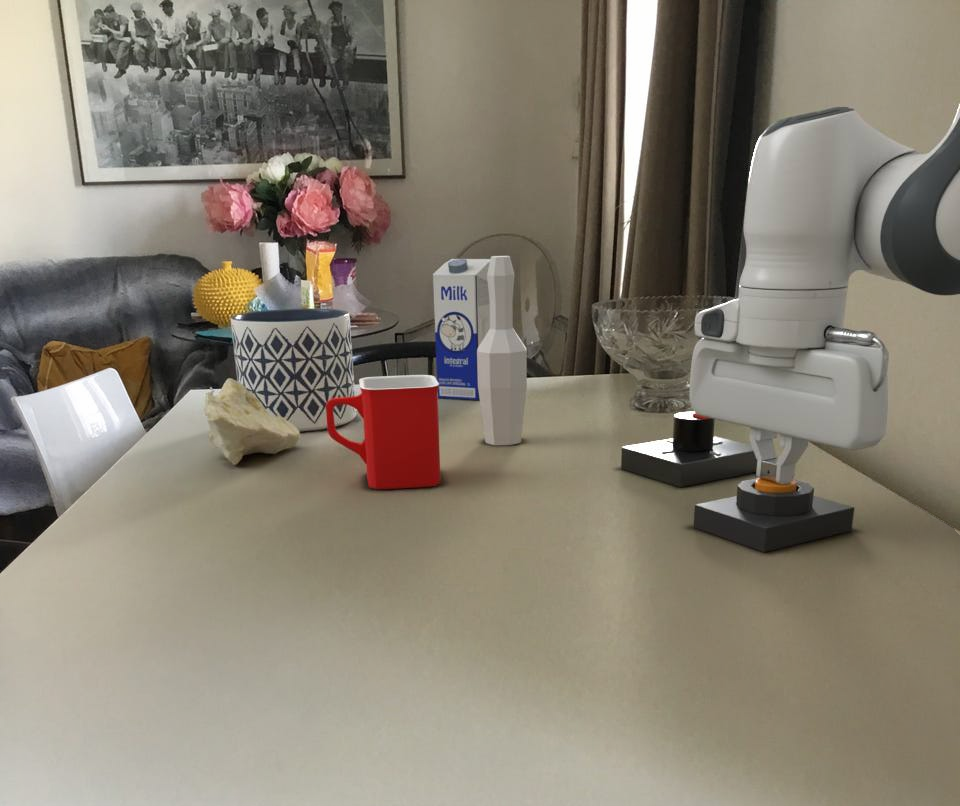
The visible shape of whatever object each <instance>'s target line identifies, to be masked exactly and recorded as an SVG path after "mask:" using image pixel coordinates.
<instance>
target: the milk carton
mask: <svg viewBox="0 0 960 806" xmlns="http://www.w3.org/2000/svg"><path fill="white" fill-rule="evenodd" d="M490 260H491V258H450V259H449V260H448V261H446V262H444V263H443V264H442V265H441V266H440V267H439V268H438V269H437V270H436V271H434V272H433V273H432V274H431V275H432V283H433V311H434V335H435V336H434V337H435V358H436V359H435V363H436V365H435V366H436V380H437V381H438V383H439V387H438V393H437V395H438V399H452V400H467V401H469V400H470V401H480V398H479V391H478V371H477V349H478V347H479V345H480V344H481V342H482V341H483V339H484V337H485V336H486V334H487V332H488V331H489V329H490V300H489V290H488V281H487V273H488V268H489V264H490Z"/></svg>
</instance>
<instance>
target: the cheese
mask: <svg viewBox="0 0 960 806" xmlns="http://www.w3.org/2000/svg"><path fill="white" fill-rule="evenodd" d="M209 390H210V391H207V392H206V393H205V401H204V407H203V409H204V414H205V416H207V423H208V425H209V434H208V441H209V442H210V444H212V445H213V447H214V448H216V449H218V450H219V452H221V453H222V454H223V455H224V458H226V459H227V460H228V462H230V463H232V465H233V466H236V465H238V464H239V462H240V461H241V460H242V458H243V456H245V455H247V456H248V455H251V454H258V453H263V454H272V455H276V454H278V453H279V452H281V451H283V450H288V449H291V448H293V447H294V446H296V445H297V444H298V442H299V440H300V436H301V435H300V434H301V433H300V431H298V429H297V428H296V427H295V426H294V425H293V424H292V423H290V422H288V421H287V420H286V419H285V418H283V417H280V418H279V417H278V416H275V417H271V416H270V415H269V414H268V412H267V410H266V409H265V408H264V406H263V405H262V403H261V402H260V401H259V399H258V398H257V397H256V396H255V395H254V394H253V393H252V392H251V391H248V390H247V389H246V388H245V387H244V385H243V384H241V383H239V382H237V379H236V380H235V379H233V378H232V377H229V378H227V379H226V380H225V382H224V383H223V384H222V387H221V389H219V390H220V391H219V392H218V393H217V394H216V395H214V393H215V389H213V387H212V386H210V387H209Z"/></svg>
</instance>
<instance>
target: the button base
mask: <svg viewBox="0 0 960 806" xmlns="http://www.w3.org/2000/svg"><path fill="white" fill-rule="evenodd" d="M757 479H758V477H756V478H750V479H746V480H742V481H741V482H740V483H738V484H737V487H736V488H737V490H736V495H735V496H730V497H725V498H720V499H716V500H710V501H705V502H702V503H696V504H694V510H693V511H694V513H693V528H694V529H697V530H700V531H702V532H706V533H708V534H711V535H714V536H717V537H720V538H723V539H726V540H729V541H731V542H734V543H737V544H740V545H742V546H745V547H747V548H751V549H753V550H756V551H759V552H762V553H767V552H772V551H775V550H779V549H782V548H787V547H792V546H795V545H800V544H803V543H807V542H811V541H815V540H819V539H823V538H827V537H832V536H836V535H839V534H843V533H847V532H851V531H852V530H853V523H854V516H855V506H850V505H847V504H844V503H841V502H837V501H833V500H829V499H827V498H823V497H819V496H816V495H814V494H815V487H814V486H812V485H811V484H810V483H809V482H805V481H801V480H797V479H794V480H795V481H796V482H797V486H796V491H794V492H790V493H772V492H763V491H759V490H756V489H755V482H756V480H757Z"/></svg>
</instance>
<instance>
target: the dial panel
mask: <svg viewBox="0 0 960 806" xmlns="http://www.w3.org/2000/svg"><path fill="white" fill-rule="evenodd" d="M672 445H673V437H672V438H668V439H661V440H655V441H649V442H643V443H637V444H631V445H625V446H622V447H621V458H620V459H621V460H620V461H621V462H620V470H624V471H627V472H631V473H634V474H637V475H640V476H643V477H647V478H649V479H653V480H656V481H659V482H663V483H665V484H668V485H672V486H675V487H678V488H684V487H688V486H689V487H690V486H693V485H699V484H703V483H708V482H714V481H718V480H724V479H728V478H734V477H738V476H739V477H740V476H744V475H750V474H753V473H756V472H757V460H758V459H756V456H755V453H754V451H753V448H752V445H751V444H747V443H744V442H743V443H742V442H738V441H735V440H731V439H727V438H724V437H723V438H722V437H719V436H715V435H714V437H713V448H712V449H710V450H707V451H700V452H689V451H681V450H677V449H674V448H673V447H672Z"/></svg>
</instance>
